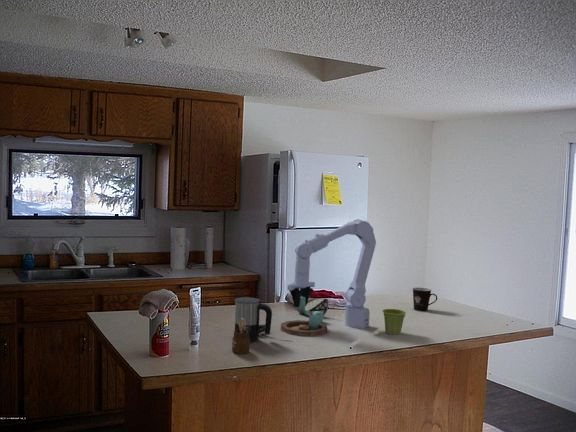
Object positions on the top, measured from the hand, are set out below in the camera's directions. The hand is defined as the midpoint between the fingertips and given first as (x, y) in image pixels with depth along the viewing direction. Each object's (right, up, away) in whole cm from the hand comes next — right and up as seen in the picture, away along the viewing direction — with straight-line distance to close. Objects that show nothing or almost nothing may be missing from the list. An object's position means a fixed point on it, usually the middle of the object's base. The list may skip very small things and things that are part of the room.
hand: (300, 306), depth 246 cm
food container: (+3, -5, +24) cm, 24 cm away
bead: (0, -2, 0) cm, 2 cm away
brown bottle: (-21, -10, -38) cm, 45 cm away
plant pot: (+37, -11, -1) cm, 39 cm away
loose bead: (+7, -9, +7) cm, 13 cm away
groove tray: (+1, -9, -7) cm, 12 cm away
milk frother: (-19, -9, -18) cm, 28 cm away
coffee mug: (+59, -9, +44) cm, 74 cm away
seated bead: (+5, -8, -5) cm, 11 cm away
